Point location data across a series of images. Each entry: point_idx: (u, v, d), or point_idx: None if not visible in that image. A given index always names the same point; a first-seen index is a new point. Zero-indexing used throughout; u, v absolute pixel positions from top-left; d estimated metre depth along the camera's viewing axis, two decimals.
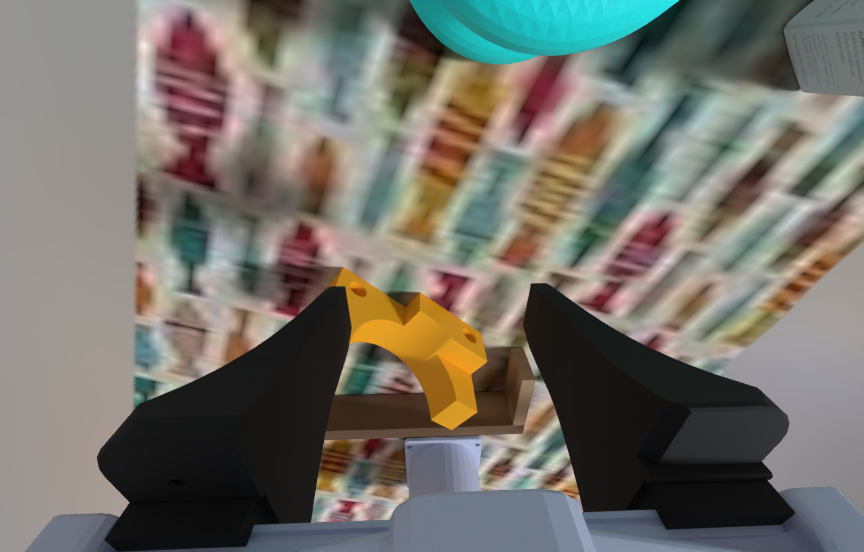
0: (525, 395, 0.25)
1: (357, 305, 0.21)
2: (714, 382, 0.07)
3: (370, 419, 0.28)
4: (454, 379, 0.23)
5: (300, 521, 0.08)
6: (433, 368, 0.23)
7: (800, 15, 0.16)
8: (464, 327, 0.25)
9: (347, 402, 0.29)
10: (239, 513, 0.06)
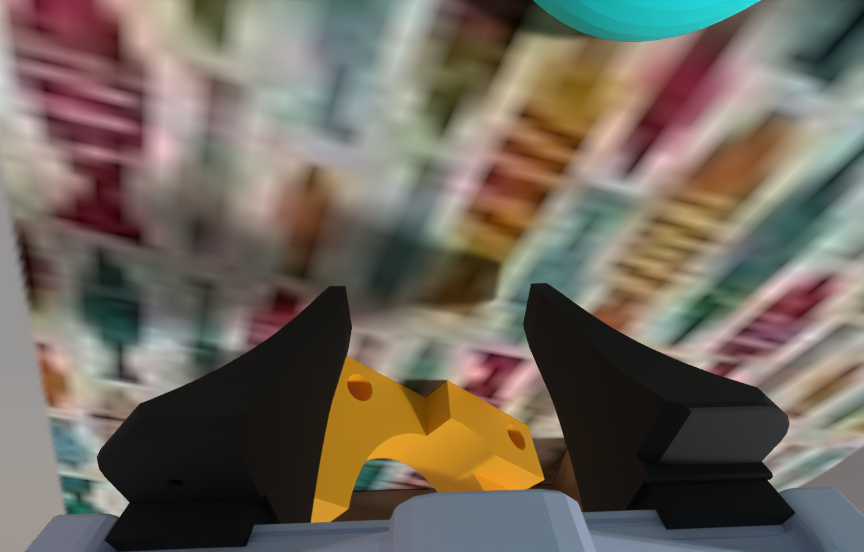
0: None
1: (359, 421, 0.14)
2: (714, 382, 0.07)
3: None
4: None
5: (299, 521, 0.08)
6: None
7: None
8: (508, 422, 0.18)
9: None
10: (239, 513, 0.06)
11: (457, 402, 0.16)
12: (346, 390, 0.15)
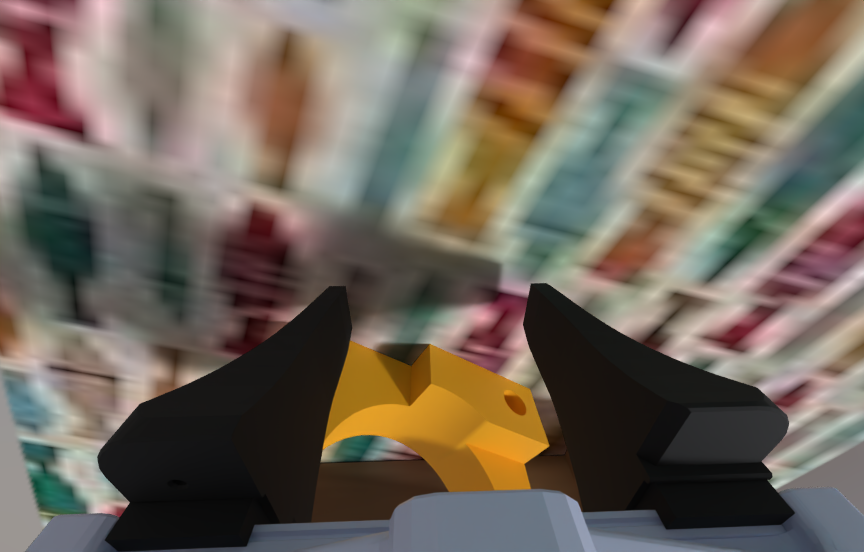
0: None
1: None
2: (714, 382, 0.07)
3: (373, 505, 0.19)
4: (499, 488, 0.14)
5: (300, 521, 0.08)
6: (464, 466, 0.15)
7: None
8: (505, 388, 0.16)
9: (340, 475, 0.20)
10: (239, 513, 0.06)
11: (441, 367, 0.15)
12: None
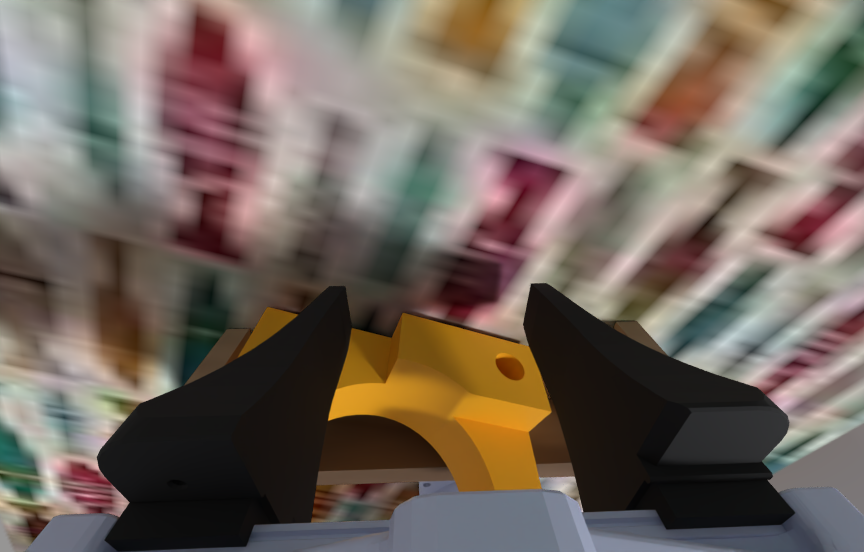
0: None
1: None
2: (714, 382, 0.07)
3: (363, 448, 0.16)
4: (493, 463, 0.12)
5: (299, 521, 0.08)
6: (456, 440, 0.13)
7: None
8: (498, 351, 0.14)
9: None
10: (239, 513, 0.06)
11: (414, 338, 0.13)
12: None
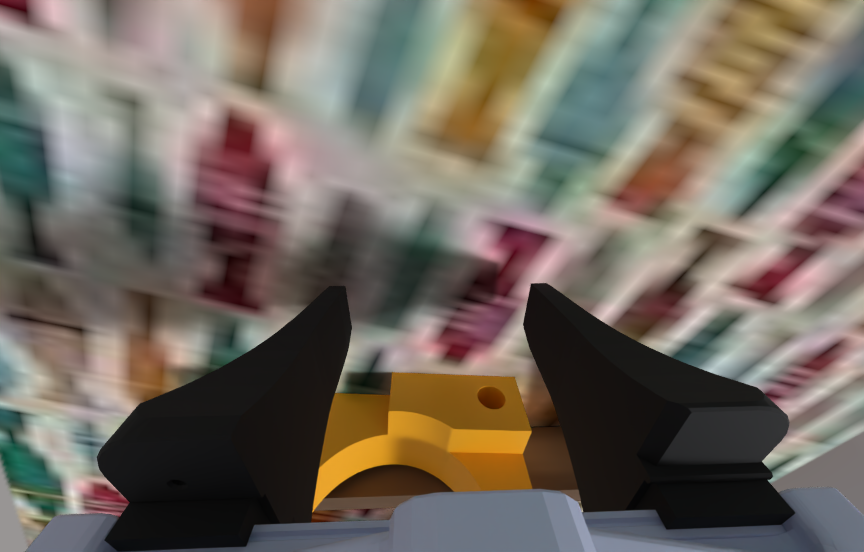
0: None
1: None
2: (714, 382, 0.07)
3: (368, 476, 0.17)
4: (488, 488, 0.14)
5: (299, 521, 0.08)
6: (458, 473, 0.15)
7: None
8: (480, 386, 0.16)
9: None
10: (239, 513, 0.06)
11: (402, 391, 0.16)
12: None
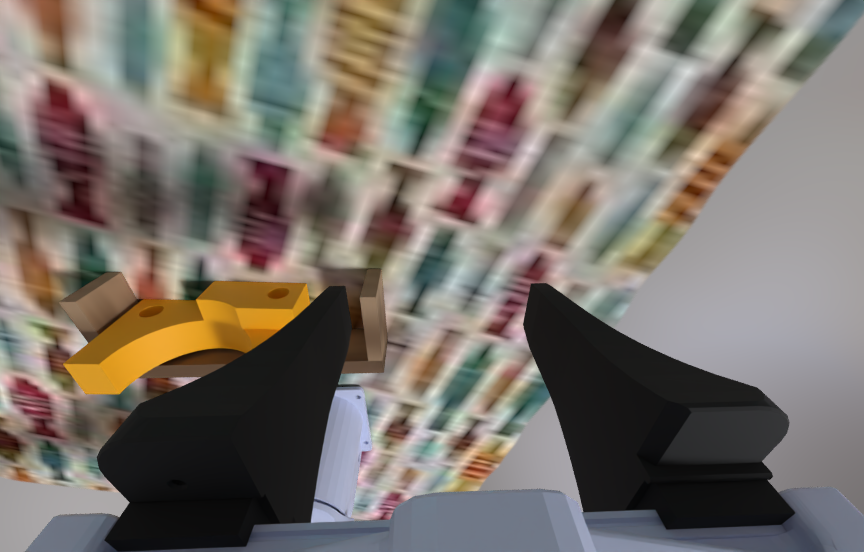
0: (370, 318, 0.21)
1: (138, 326, 0.21)
2: (714, 382, 0.07)
3: (201, 354, 0.23)
4: (257, 345, 0.20)
5: (300, 521, 0.08)
6: (250, 344, 0.22)
7: None
8: (275, 287, 0.23)
9: None
10: (239, 513, 0.06)
11: (214, 290, 0.22)
12: (136, 315, 0.22)
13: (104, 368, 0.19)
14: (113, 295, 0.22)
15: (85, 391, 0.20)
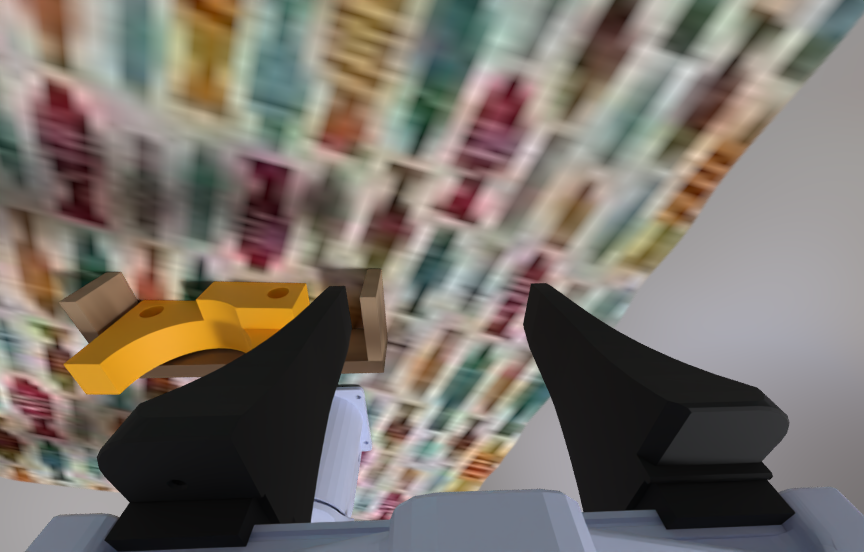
0: (370, 318, 0.21)
1: (138, 327, 0.21)
2: (714, 382, 0.07)
3: (201, 354, 0.23)
4: (257, 345, 0.21)
5: (300, 521, 0.08)
6: (250, 343, 0.22)
7: None
8: (275, 287, 0.23)
9: None
10: (239, 513, 0.06)
11: (214, 290, 0.22)
12: (136, 315, 0.22)
13: (105, 368, 0.19)
14: (113, 295, 0.22)
15: (86, 391, 0.20)
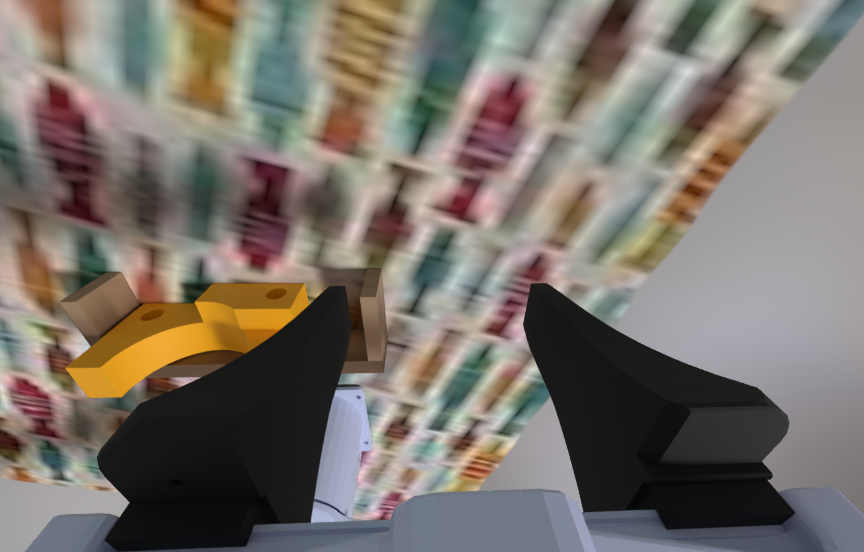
0: (370, 318, 0.21)
1: (138, 330, 0.22)
2: (714, 382, 0.07)
3: (201, 354, 0.23)
4: None
5: (300, 521, 0.08)
6: (250, 344, 0.22)
7: None
8: (273, 288, 0.23)
9: None
10: (239, 513, 0.06)
11: (213, 292, 0.22)
12: (137, 319, 0.22)
13: (105, 371, 0.19)
14: (113, 295, 0.22)
15: (88, 395, 0.20)
